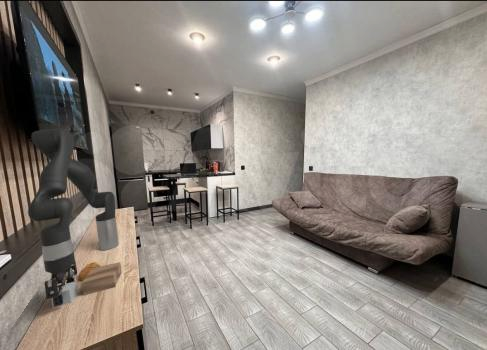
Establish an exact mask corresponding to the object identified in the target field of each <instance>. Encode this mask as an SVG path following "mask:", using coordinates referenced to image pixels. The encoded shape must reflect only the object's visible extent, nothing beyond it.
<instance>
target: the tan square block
mask: <svg viewBox="0 0 487 350" xmlns="http://www.w3.org/2000/svg"><path fill="white" fill-rule="evenodd" d="M121 275H122V264H121V261H120V262H119V261H118V262H115V263H110V264H106V265H101V267H96V268H92V270H91V271H90V272H89V274H88V275H87V276H86V278H85V279H84V280H82V281H81V288H82V295H83V296H88V295H91V294H94V293H98V292H101V291H106V290H109V289H113V288H115V287H116V286H117V284H118V282H119V280H120V277H121Z"/></svg>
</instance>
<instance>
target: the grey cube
mask: <svg viewBox="0 0 487 350" xmlns="http://www.w3.org/2000/svg"><path fill="white" fill-rule="evenodd" d="M58 291H59V288H58ZM78 294H79V291H78V283H77V281H76V280H75V282H71V283H67V284H66V283H65V286H64V287H63V289H62V296H63V304H62V305H60V306H64V305H68V304H72V303H73V301H74V300H75V298H76V297H77V296H78ZM50 299H51V306H52V308H57V307H58V306H56V307H54V304H53V298H50ZM60 306H59V307H60Z"/></svg>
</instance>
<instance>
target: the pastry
mask: <svg viewBox="0 0 487 350" xmlns="http://www.w3.org/2000/svg"><path fill="white" fill-rule="evenodd" d="M101 266H102V265H101V264H99V263H98V262H97V261H95V262H90V263H88V264H86V265H85V267H83V268H82V270H81V271H80V272H79V275H78V280H79V281H80V282H83V280H84V279H85V278H86V276H87V275H88V274H89V272H90V271H91V270H92V268H96V267H101Z"/></svg>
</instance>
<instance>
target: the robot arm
mask: <svg viewBox="0 0 487 350" xmlns="http://www.w3.org/2000/svg"><path fill="white" fill-rule="evenodd" d="M31 140H32V142H33V144H34V145H35V146H36V148H37V149H38V150H39V151H40V152H41V153H42V154H43V155H44V156H46V157H47V158H48V159H49V160H50V161H49V162H48V163H46V165H45V166H44V167H43V169H42V170H41V173H40V175H39V182H38V183H39V184H38V189H37V192H36V193H35V196H34V198H32V201H31V202H30V205H29V206H28V210H27V215H28V217H29V219H30V220H32V221H34V222H44V221H50V220H56V219H59V221H58V222H57V223H54V224H51V225H48V226H46V227H43V228H42V229H41V231H40V238H41V245H42V249H41V250H42V252H41V253H42V259H43V260H42V261H43V266H44V270H45V271H44V272H46V273H49V274H50V275H51V276H50V279H49V280H45V281H44V290H45V291H44V292H45V296H46V297H45V298H46V300H50V299H51V298H53V304H54V308H57V307H60V305H61V306H63V305H62V304H63V296H62V289H63V287H64V286H65V284H67V283H71V282H75V281H76V280H75V279H76V275H78V267H77V262H76V258H75V257H76V256H75V251H74V244H73V241H72V237H71V231H70V230H71V229H70V224H71V223H70V222H71V217H72V213H73V209H74V202H73V201H72V200H71V199H70V198H68V197H60V196H62V195H64V194H65V193H67V190H68V180H69V181H70V182H71V183H72V184H73V185H74V186H75V187H76V188H77V190H79V192H80V193H81V194H82V195H83V197H84V198H85V200H86V202H87V203H88V204H89V206H90V207H92V209H93V208H94V209H104V211H103V212H101V213H99V214H97V215H96V216H95V224H96V225H95V226H96V230H97V237H98V238H97V240H98V247H99V250H100V251H108V250H112V249H113V248H116V247H118V246H119V243H120V242H119V236H118V235H119V234H118V233H119V232H118V228H117V227H118V226H117V220H116V219H117V218H116V199H115V198H116V197H115V195H114V192H112V191H103V192H102V191H101V192H97V191H96V190H95V189H94V186H95V183H96V175H95V174H94V172H93V171H92V170H91V168H90V167H89V166H88V165H87V164H84V163H83V162H81V161H78V160H76V159H74V158H72V156H73V152H74V149H75V139H74V136H73V134H72V133H71V132H70V131H69V130H68V129H66V128H63V127H61V128H51V129H50V128H49V129H41V130H36V131H33V132H32V133H31ZM58 288H59V291H58ZM56 306H57V307H56Z"/></svg>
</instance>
